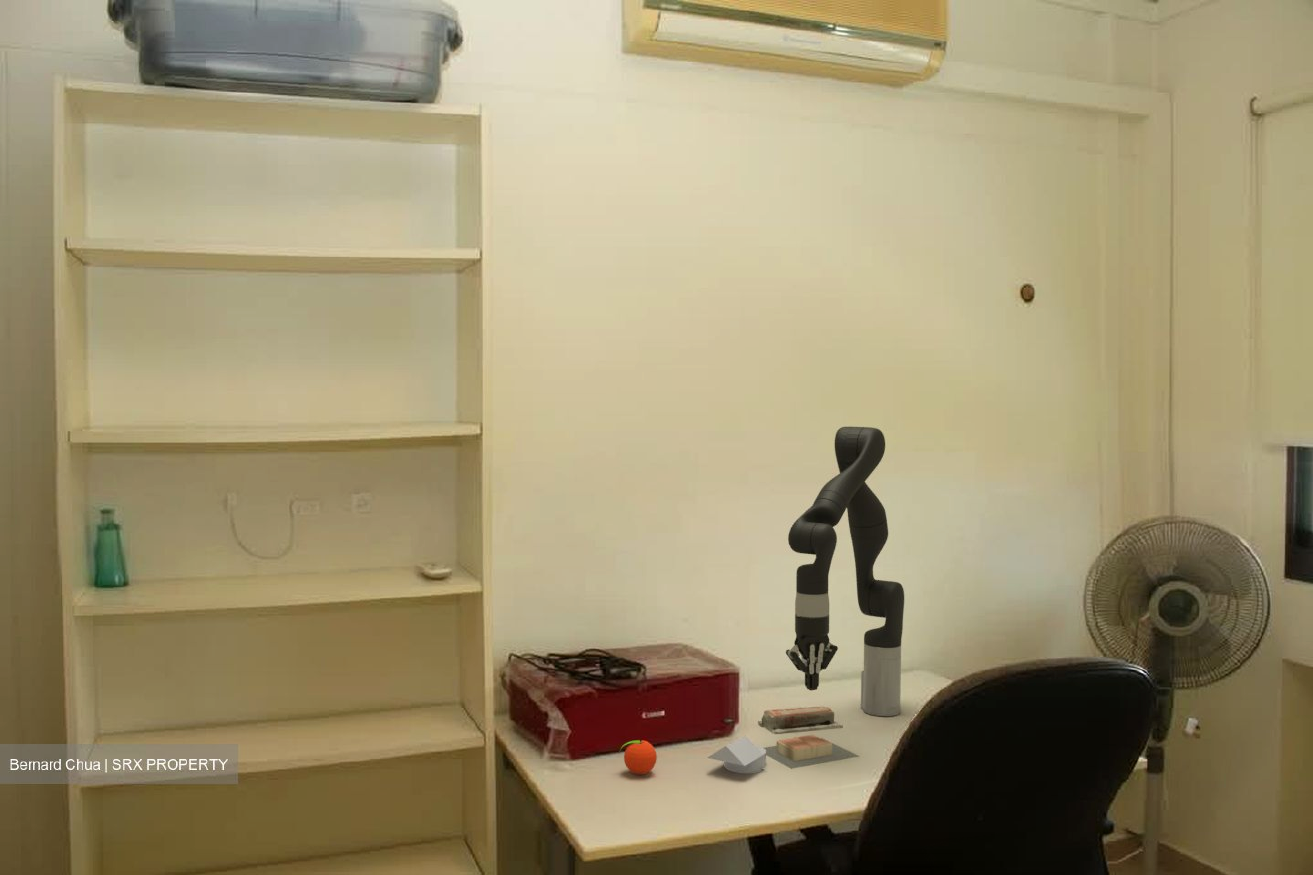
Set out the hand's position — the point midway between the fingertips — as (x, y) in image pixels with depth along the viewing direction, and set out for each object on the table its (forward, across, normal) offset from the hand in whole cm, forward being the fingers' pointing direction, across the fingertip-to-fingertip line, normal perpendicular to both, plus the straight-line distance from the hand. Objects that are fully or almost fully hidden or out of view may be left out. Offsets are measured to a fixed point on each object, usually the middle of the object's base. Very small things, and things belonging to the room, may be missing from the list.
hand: (811, 689), depth 244 cm
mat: (+15, +1, 0) cm, 15 cm away
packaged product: (+16, -9, -17) cm, 25 cm away
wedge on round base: (+15, +19, +1) cm, 24 cm away
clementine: (+14, +40, -6) cm, 43 cm away
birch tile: (+13, -3, 0) cm, 13 cm away
